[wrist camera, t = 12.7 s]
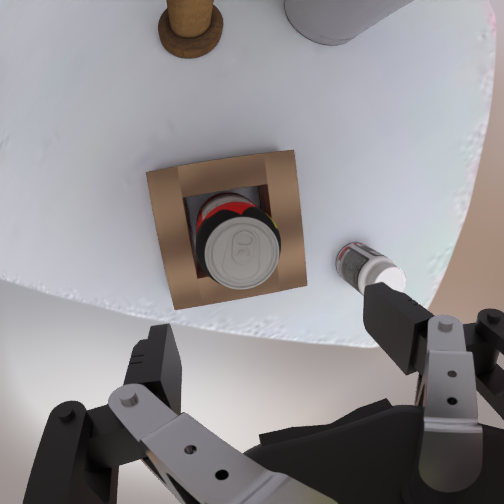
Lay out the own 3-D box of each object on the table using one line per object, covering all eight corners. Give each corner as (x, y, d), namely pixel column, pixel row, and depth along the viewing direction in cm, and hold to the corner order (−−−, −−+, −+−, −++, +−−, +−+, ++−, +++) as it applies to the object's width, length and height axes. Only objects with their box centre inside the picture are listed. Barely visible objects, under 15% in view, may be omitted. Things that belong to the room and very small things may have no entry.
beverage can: (194, 248, 33) (193, 294, 22) (199, 188, 32) (200, 204, 20) (253, 253, 35) (280, 299, 23) (260, 194, 33) (294, 213, 22)
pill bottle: (341, 286, 37) (374, 317, 30) (330, 251, 36) (364, 277, 28) (373, 269, 38) (411, 295, 30) (364, 235, 36) (404, 255, 28)
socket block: (154, 170, 30) (146, 172, 26) (280, 151, 32) (293, 149, 27) (177, 289, 34) (174, 310, 30) (293, 269, 36) (307, 285, 31)
